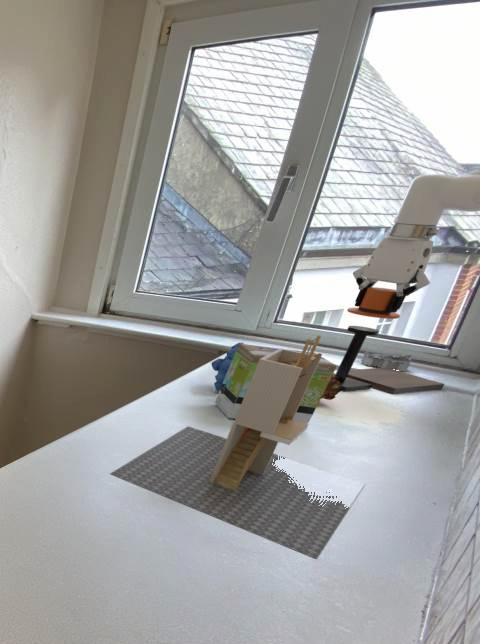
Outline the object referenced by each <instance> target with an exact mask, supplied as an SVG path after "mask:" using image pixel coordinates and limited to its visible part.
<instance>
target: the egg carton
mask: <svg viewBox="0 0 480 644" xmlns="http://www.w3.org/2000/svg"><path fill="white" fill-rule="evenodd" d="M411 361H412V355H411V354H410V355H409V354H403V353H401V354H398V353H397V354H396V355H392V354H387V355H386V354H380V353H370V352H368V351H364V352H363V356H362V357H361V360H360V364H362V365H364V366H366V365H368V366H367V367H376V366H377V367H376V368H380V367H381V368H384V367H385V368H389V369H395V370H399V371H406V372H407V370H408V368H409V366H410V365H411V364H412V363H411Z"/></svg>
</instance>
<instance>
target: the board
mask: <svg viewBox="0 0 480 644" xmlns="http://www.w3.org/2000/svg"><path fill="white" fill-rule="evenodd" d="M347 377H348V378H351V379H355V380H358V381H361V382H364V383H368V384H371V385H372V387H371V389H376V390H379V391H382V392H385V393H387V394H388V393H389V394H391V395H396V394H407V393H406V392H408V393H416V392H415V391H417V392H424V391H426V392H427V391H435V390H437V391H438V390H443V388H444V386H445V383H443V382H440V381H436V380H432V379H429V378H425V377H421V376H418V375H415V374H412V373H411V374H410V373H407V372H400V371H396V370H393V369H389V368H385V367H384V368H380V367H373V368H372V367H371V368H363V369H362V368H361V369H350V371H349V373H348V375H347Z"/></svg>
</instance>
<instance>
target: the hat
mask: <svg viewBox="0 0 480 644" xmlns="http://www.w3.org/2000/svg"><path fill="white" fill-rule="evenodd" d="M393 296H396V289H394V288H387V287H378V286H377V287H376V286H375V287H374V286H373V287H369V288H368V289H367V291H366V294H365V296H364V298H363V300H362V302H361V305H360V306H358V307H348V308H347V310H346V311H347V313H351V314H354V315H358V316H362V317H369V318H375V319H376V318H377V319H387V320H394V319H395V320H396V319H400V317H401V314H399V313H397V312H392V313H388V312H386V309H387V307H388V305H389V302H390V300H391V298H392V297H393Z"/></svg>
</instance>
